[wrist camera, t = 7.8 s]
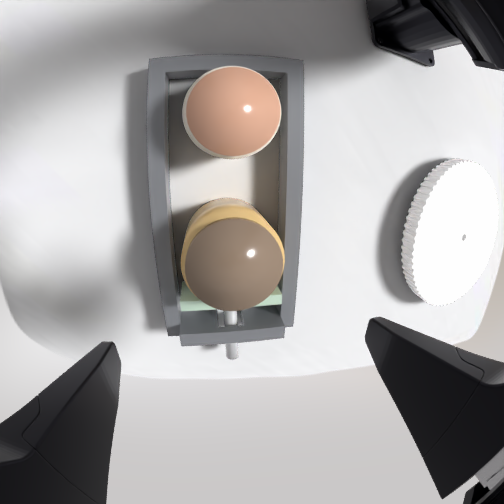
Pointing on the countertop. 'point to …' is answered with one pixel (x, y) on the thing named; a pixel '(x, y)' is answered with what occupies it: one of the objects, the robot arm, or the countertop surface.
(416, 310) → the countertop surface
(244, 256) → the amber jar
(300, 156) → the lane
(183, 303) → the pusher
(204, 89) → the cream jar
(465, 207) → the plastic lid
